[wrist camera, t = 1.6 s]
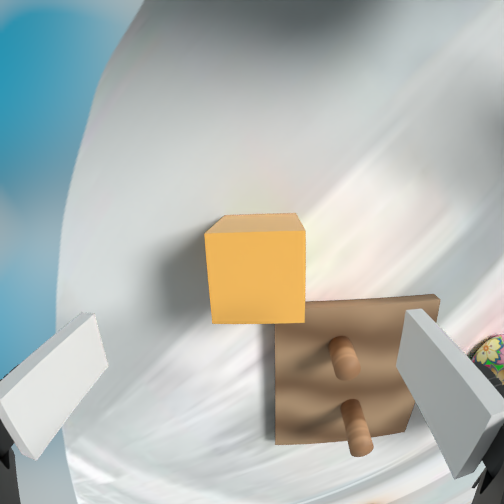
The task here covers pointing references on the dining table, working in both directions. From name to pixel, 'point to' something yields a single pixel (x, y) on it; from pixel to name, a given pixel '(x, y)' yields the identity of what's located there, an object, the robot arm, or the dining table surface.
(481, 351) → the mug
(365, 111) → the dining table surface
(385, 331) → the board
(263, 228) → the mustard yellow box
